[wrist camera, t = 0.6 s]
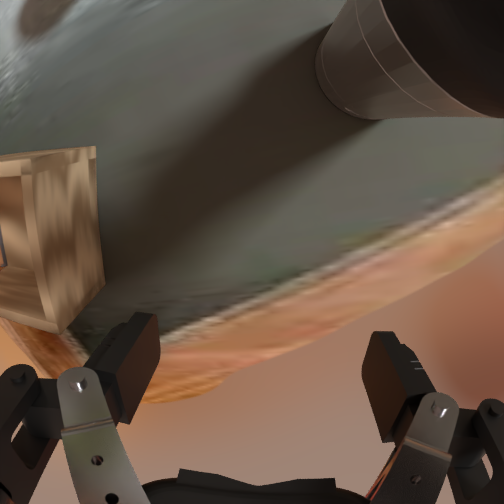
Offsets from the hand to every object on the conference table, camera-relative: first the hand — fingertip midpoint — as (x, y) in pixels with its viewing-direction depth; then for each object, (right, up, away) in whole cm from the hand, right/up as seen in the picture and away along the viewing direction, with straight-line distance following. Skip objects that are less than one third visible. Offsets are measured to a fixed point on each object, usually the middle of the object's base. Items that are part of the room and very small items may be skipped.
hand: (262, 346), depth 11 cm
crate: (-24, +7, +19) cm, 32 cm away
